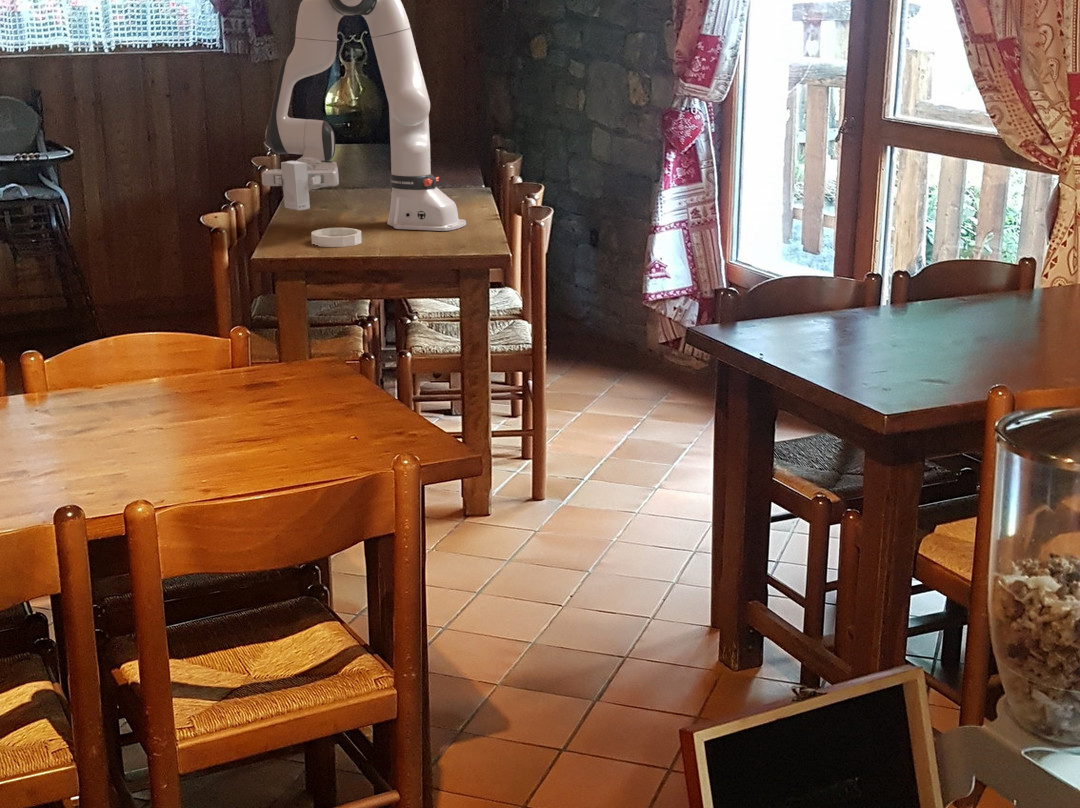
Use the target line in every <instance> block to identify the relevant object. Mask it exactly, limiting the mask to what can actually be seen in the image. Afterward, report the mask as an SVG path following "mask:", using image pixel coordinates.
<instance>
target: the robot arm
mask: <svg viewBox="0 0 1080 808" xmlns="http://www.w3.org/2000/svg"><path fill="white" fill-rule="evenodd" d="M402 2H403V1H402V0H302V1H300V3H299V7H298V12H297V18H296V24H295V40H294V46H293V49H292V51H291V53H290V54H289V55H288V56H286V57H284V58H283V60H282V62H281V64H280V68H279V72H278V76H277V81H276V85H275V91H274V95H273V101H272V106H271V111H270V116H269V119H268V123H267V125H266V129H265V137H264V139H265V143H266V146H268V148H269V149H270V150H271V151H272V152H273V153H274V154H276V155H282V154H283V155H289V154H293V155H302V156H301V157H300V158H298V159H296V160H295V161H298V162H303V163H307V175H308V189H309V192H310V191H313V190H318V189H320V188H330V187H331V188H332V187H337V186H338V185H339V184H340V181H339V180H340V177H339V167H338V164H337V162H336V161H331V160H332V159H333V158H334V156H335V152H336V134H335V131H334V129H333V128H332V126H331V125H330V124H329V123H328V122H327V120H321V119H320V120H319V119H312V118H309V119H307V118H295V117H289V116H288V112H289V108H290V102H291V97H292V93H293V88H294V86H295V85H296V83H298V82H299V81H300V80H302V79H304V78H305V79H306V78H307V77H311V76H315V75H317V74H320V73H323V72H324V71H326V70H328V69H329V68H330V67H332V65H333V64H334V62H335V60H336V55H337V49H338V48H337V46H338V27H339V23H340V20H341V19H342V18H343V17H346V16H356V15H358V16H362V17H363V18H364V20H365V21H366V23H367V26H368V29H369V34H370V37H371V41H372V45H373V49H374V53H375V54H374V55H375V56H376V60H377V65H378V69H379V72H380V76H381V80H382V83H383V87H384V91H385V95H386V98H387V102H388V109H389V110H388V112H389V115H388V116H389V138H390V139H389V140H390V164H391V165H390V167H391V168H390V169H391V173H390V174H389V185H390V186H389V187H390V188H389V189H390V193H391V194H390V195H391V196H390V198H391V199H390V200H391V201H390V208H389V214H388V219H387V226H391V227H393V229H395V230H412V231H413V230H417V231H435V232H437V231H438V232H446V231H447V232H448V231H454V230H459V229H460V228H463V227H465V226H466V225H467V221H466V220H465V219H461V218H459V213H458V208H457V205H456V202H455V201H454V200H453V199H451V198H450V197H449V196H447V194H445V193H444V192H443V191H442V190H440V189H439V188H438V187H437V182H439V181H440V180H439V179H440V176H437V177H435V176H434V175H433V173H431V169H432V168H431V138H430V136H431V135H430V123H429V122H430V116H429V115H430V111H431V101H430V95H429V92H428V89H427V85H426V82H425V77H424V74H423V71H422V68H421V64H420V59H419V55H418V52H417V49H416V47H417V46H416V44H415V40H414V36H413V32H412V28H411V24H410V22H409V21H410V20H409V18H408V15H407V13H406V9H405V8H404V4H403V3H402ZM261 183H262V185H263V187H283V181H282V170H281V168H274V169H268V170H265V171H263V172H261Z"/></svg>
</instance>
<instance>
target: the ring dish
mask: <svg viewBox="0 0 1080 808" xmlns="http://www.w3.org/2000/svg"><path fill="white" fill-rule="evenodd" d="M310 235H311V244H312V245H313V244H315V245H314V246H316V245H318V246H317V247H322V248H323V247H324V248H345V247H346V248H347V247H352V246H357V245H359V244H362V243H363V242H362V241H363V238H362V230H360V229H357V228H351V227H350V228H349V227H327V228H318V229H316V230H313V231H311V234H310Z"/></svg>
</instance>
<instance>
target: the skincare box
mask: <svg viewBox="0 0 1080 808" xmlns="http://www.w3.org/2000/svg"><path fill="white" fill-rule="evenodd" d="M280 169H281V170H282V181H283V186H282V191H283V201H284V202H283V203H284V204H283V205H284V208H286V209H290V210H295V211H306V210H310V207H311V204H310V203H311V202H310V191H309V189H308V175H307V163H303V162H298V161H296V160H287V161H282V162H280Z"/></svg>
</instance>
